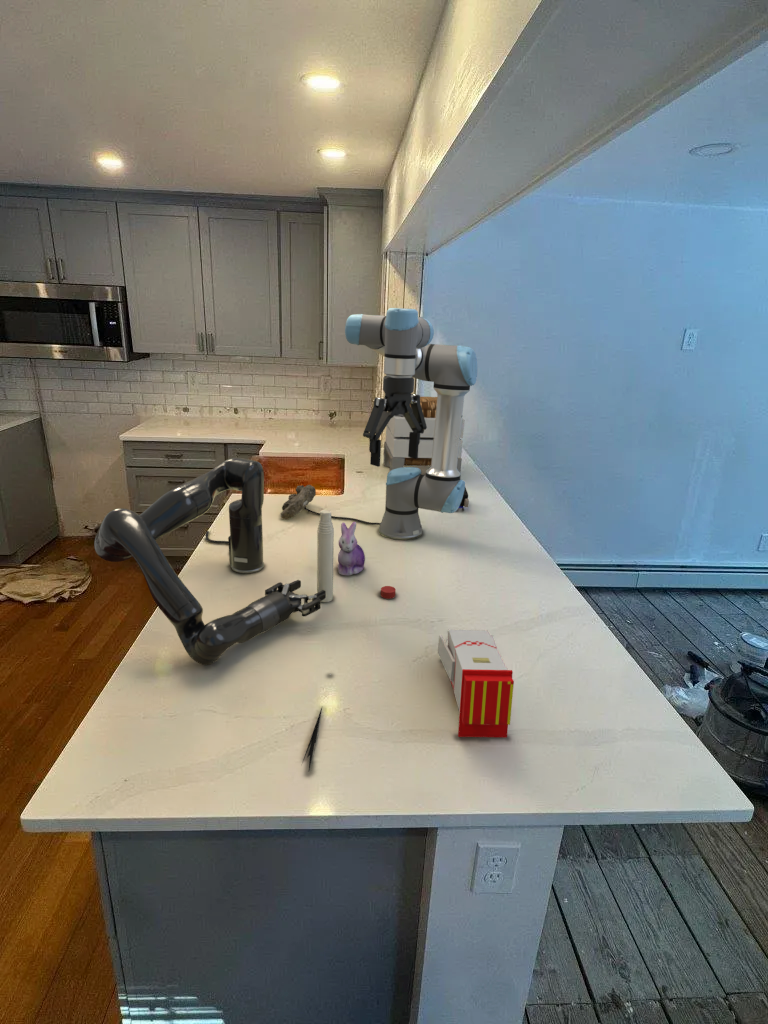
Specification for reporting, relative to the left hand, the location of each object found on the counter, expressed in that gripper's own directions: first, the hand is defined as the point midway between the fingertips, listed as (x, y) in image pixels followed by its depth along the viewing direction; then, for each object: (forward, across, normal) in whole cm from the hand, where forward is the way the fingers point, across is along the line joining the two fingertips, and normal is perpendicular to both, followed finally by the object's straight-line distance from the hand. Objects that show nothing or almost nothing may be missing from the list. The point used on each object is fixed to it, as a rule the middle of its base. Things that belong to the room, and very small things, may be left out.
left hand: (312, 588), depth 147 cm
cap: (+18, +12, -4) cm, 22 cm away
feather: (-32, +30, -5) cm, 44 cm away
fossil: (+51, -52, -6) cm, 74 cm away
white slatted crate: (+130, -47, -6) cm, 138 cm away
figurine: (+24, -6, -6) cm, 25 cm away
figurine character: (+98, -9, -6) cm, 98 cm away
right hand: (+18, +12, +33) cm, 39 cm away
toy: (-6, +49, -5) cm, 50 cm away
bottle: (+6, 0, -5) cm, 8 cm away
